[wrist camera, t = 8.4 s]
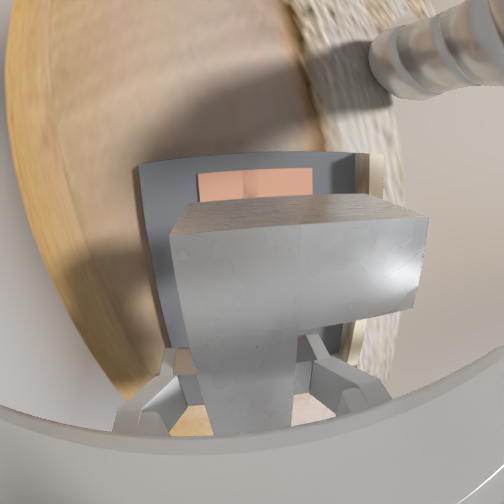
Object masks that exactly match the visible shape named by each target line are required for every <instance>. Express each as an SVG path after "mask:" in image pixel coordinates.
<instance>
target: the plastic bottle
mask: <svg viewBox="0 0 504 504" xmlns="http://www.w3.org/2000/svg"><path fill="white" fill-rule="evenodd" d="M368 58H369V64H370V68H371V71H372V73H373V75H374V77H375V78H376V80H377V81H378V82H379V83H380V84H381V85H382V86H383V87H384V88H385V89H386V90H387V91H389V92H390V93H391V94H393V95H395V96H396V97H399V98H402V99H408V100H418V101H419V100H425V99H428V98H431V97H434V96H436V95H439V94H441V93H443V92H446V91H449V90H454V89H458V88H462V87H467V86H481V85H484V86H504V0H465V1H464V2H462V3H460V4H459V5H456V6H454V7H452V8H450V9H448V10H446V11H444V12H442V13H440V14H437V15H435V16H434V17H430V18H427V19H424V20H420V21H417V22H415V23H411V24H408V25H403V26H397V27H393V28H390V29H387V30H385V31H383V32H381V33H380V34H379V35H378V36H377V37H376V38H375V39H374V41H373V42H372V43H371V45H370V47H369V52H368Z"/></svg>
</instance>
